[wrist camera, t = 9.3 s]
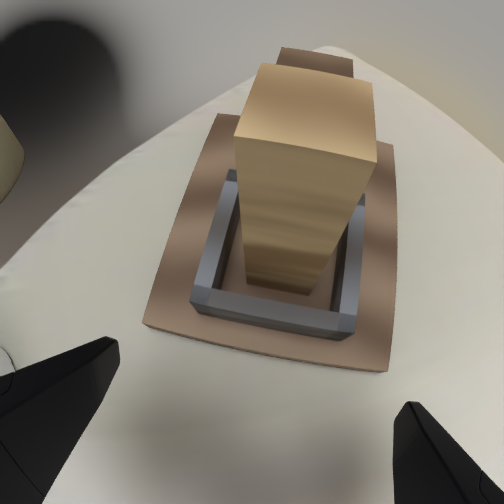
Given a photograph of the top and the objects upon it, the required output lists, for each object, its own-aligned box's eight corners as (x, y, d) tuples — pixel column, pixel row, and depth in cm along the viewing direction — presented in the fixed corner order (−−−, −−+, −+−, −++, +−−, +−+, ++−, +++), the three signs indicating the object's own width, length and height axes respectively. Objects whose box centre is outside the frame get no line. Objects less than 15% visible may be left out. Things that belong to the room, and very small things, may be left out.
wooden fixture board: (379, 372, 19) (458, 357, 10) (148, 327, 21) (80, 283, 12) (388, 155, 26) (423, 76, 18) (218, 124, 28) (208, 39, 19)
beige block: (308, 296, 20) (376, 162, 8) (246, 284, 20) (233, 135, 8) (318, 232, 22) (370, 74, 10) (261, 222, 22) (264, 55, 10)
